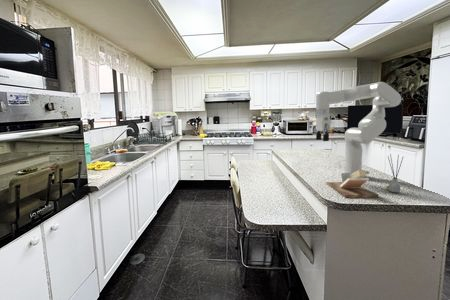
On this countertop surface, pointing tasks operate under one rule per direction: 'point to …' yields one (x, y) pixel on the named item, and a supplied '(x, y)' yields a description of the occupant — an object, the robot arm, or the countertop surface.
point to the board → (352, 191)
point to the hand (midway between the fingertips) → (322, 140)
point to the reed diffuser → (394, 180)
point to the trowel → (353, 175)
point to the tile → (353, 182)
